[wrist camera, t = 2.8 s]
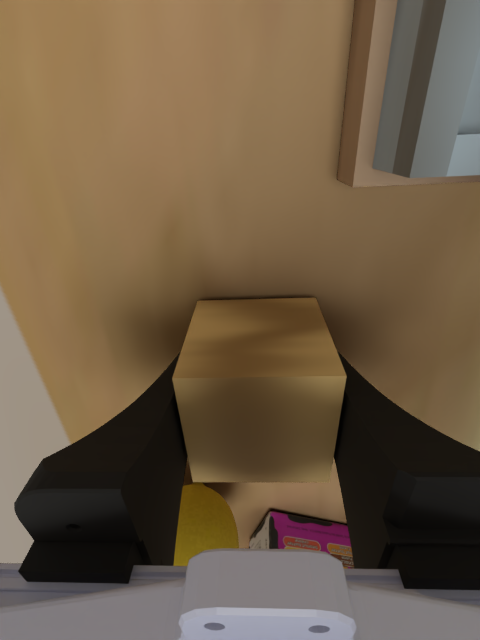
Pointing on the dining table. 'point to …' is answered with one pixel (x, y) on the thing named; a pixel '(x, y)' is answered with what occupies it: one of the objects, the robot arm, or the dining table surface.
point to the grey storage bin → (412, 94)
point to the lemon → (203, 523)
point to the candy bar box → (303, 536)
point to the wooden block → (259, 391)
